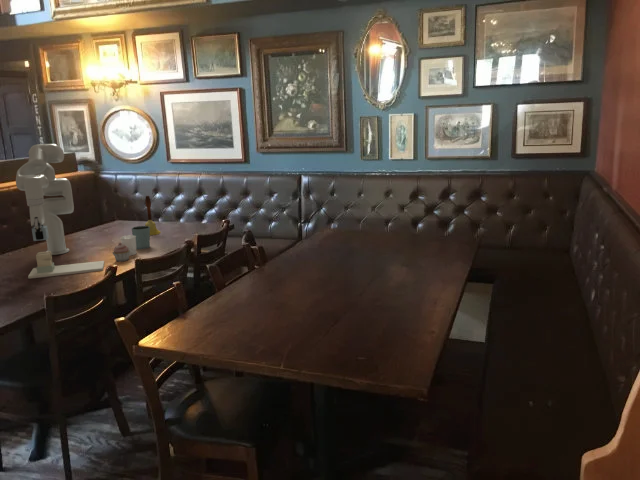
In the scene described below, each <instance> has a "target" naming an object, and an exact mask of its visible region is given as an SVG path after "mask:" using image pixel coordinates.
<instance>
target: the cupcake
mask: <svg viewBox="0 0 640 480" xmlns="http://www.w3.org/2000/svg"><path fill="white" fill-rule="evenodd" d="M111 254H112V255H113V256H114V259H115V261H116V262H118V263H119V262H121V263H122V262H127V261H129V258H130V256H129V254H130V250H128V247H127V246H126V245H125V244H123V243H122V242H118V244H117V245H115V246H114V247H113V250H112V253H111Z"/></svg>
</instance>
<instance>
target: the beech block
mask: <svg viewBox="0 0 640 480" xmlns="http://www.w3.org/2000/svg"><path fill="white" fill-rule="evenodd" d="M35 258H36V263H37V266H38V267H43V266H51V265H52V263H53V255H51V251H48V252H46V251H40V252H39V251H38V252H37V253H36V255H35Z"/></svg>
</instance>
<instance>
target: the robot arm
mask: <svg viewBox="0 0 640 480" xmlns="http://www.w3.org/2000/svg"><path fill="white" fill-rule="evenodd" d="M64 159H65V152H64V150H63V149H62V148H61V146H59V144H56V143H40V144H39V143H37V144H34V145H32V146H31V147H30V149H29V150H28V161H27V162H26V163H24V164H22V166H20V168H19V169H17V171H16V177H15V186H16V188H17V189H18V190H19V191H24V193H25V199H26V204H27V207H29V219H30V225H31V227H35V234H36V240H40V239H44V238H43V231H42V228H41V226H47V228H48V235H49V238H48V239H47V240H45V241H46V246H47V250H46V251H45V252H48V251H51V255H52V256H57V255H63V254H67V253H69V252H70V248H68V247H66V240H65V232H64V224H63V221H62V219H61V218H60V217H59V216H58V215H69V214H72V213H74V209H75V206H74V205H75V204H74V197H73V196H74V195H73V191H72V189H73V188H72V184H71V182H70V180H69V179H68V178H65V177H60V178H59V177H58V178H56V173H55V168H54V167H53V165H51V164H57V163H62V162H63V161H64ZM44 196H46V197H48V196H49V197H48V198H44ZM52 196H54V197H52ZM55 196H63V197H55ZM40 241H41V240H40Z"/></svg>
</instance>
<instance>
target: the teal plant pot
mask: <svg viewBox="0 0 640 480" xmlns="http://www.w3.org/2000/svg"><path fill="white" fill-rule="evenodd" d="M131 233H132V235H133V236H136V250H144V249H149V248H150V247H151V241H150V240H151V238H150V237H151V235H150V227H149V226H145V225H137V226H133V227H131ZM149 235H150V236H149Z"/></svg>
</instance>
